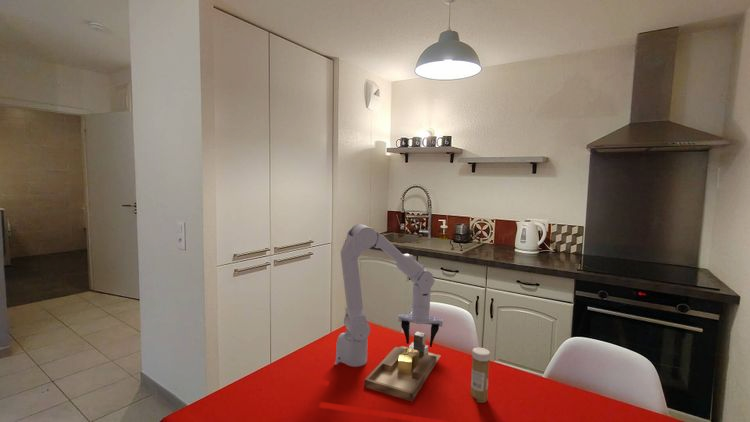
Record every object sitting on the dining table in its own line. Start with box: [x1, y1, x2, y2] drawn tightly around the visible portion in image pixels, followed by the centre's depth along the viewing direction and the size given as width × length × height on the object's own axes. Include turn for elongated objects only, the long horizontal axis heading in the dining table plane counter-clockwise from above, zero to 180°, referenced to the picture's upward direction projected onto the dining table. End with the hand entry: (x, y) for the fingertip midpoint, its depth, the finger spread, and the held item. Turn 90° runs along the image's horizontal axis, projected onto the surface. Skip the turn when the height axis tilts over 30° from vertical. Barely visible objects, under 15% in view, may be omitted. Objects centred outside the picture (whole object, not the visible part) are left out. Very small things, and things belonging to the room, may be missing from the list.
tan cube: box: [402, 348, 419, 369], centre depth 111 cm, size 4×4×4 cm
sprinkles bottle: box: [470, 347, 491, 404], centre depth 96 cm, size 5×5×14 cm
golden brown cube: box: [398, 354, 413, 375], centre depth 107 cm, size 4×4×4 cm
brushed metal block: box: [407, 331, 429, 359], centre depth 118 cm, size 6×5×6 cm
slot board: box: [364, 345, 442, 402], centre depth 108 cm, size 14×28×3 cm, turn 155°
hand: (419, 344), depth 119 cm, fingers open, 7 cm apart
